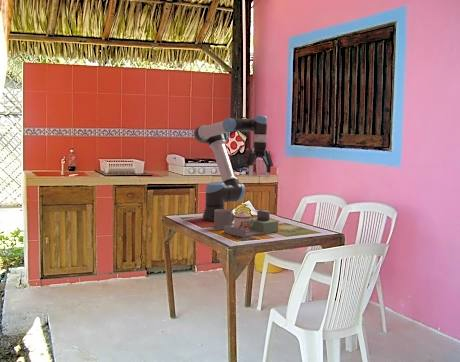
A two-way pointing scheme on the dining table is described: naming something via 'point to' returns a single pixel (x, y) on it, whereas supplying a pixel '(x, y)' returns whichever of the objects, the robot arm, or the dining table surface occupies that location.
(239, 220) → the teacup with lid
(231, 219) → the coffee mug
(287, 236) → the dining table surface
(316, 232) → the dining table surface
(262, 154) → the robot arm
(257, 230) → the grey green blocky piece
